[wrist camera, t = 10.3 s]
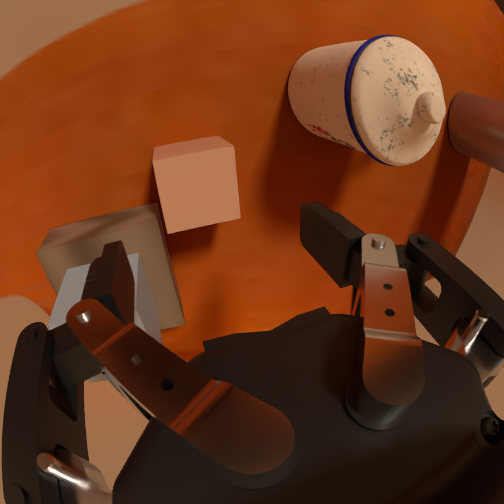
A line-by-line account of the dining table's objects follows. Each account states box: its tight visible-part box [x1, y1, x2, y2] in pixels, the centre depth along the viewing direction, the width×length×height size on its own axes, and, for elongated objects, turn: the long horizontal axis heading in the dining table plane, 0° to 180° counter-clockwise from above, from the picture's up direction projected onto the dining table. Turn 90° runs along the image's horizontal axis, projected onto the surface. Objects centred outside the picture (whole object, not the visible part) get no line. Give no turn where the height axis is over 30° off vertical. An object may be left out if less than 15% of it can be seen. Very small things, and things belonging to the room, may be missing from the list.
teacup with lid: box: [288, 35, 446, 166], centre depth 16 cm, size 12×9×12 cm
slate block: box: [48, 253, 162, 382], centre depth 17 cm, size 6×6×6 cm
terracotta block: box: [153, 136, 240, 234], centre depth 19 cm, size 5×5×5 cm
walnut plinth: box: [36, 202, 185, 330], centre depth 21 cm, size 10×10×4 cm
